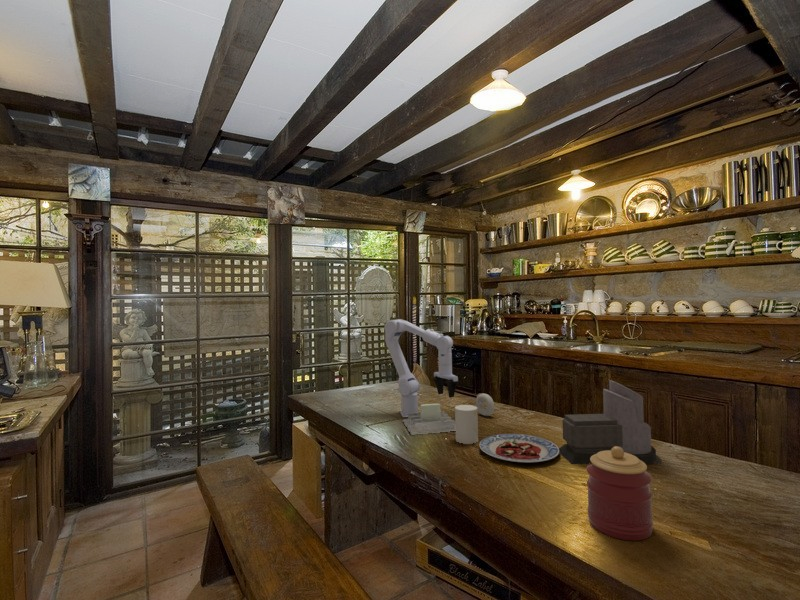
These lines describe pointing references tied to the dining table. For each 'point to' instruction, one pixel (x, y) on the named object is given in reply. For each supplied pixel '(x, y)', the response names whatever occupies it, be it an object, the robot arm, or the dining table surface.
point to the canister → (619, 495)
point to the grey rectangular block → (430, 411)
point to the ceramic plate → (519, 448)
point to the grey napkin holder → (609, 429)
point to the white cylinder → (466, 424)
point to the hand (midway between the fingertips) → (445, 395)
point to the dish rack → (429, 424)
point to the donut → (489, 403)
